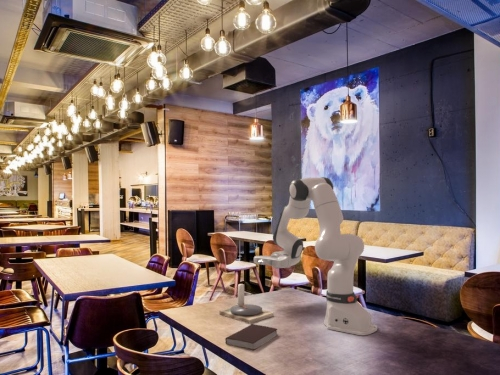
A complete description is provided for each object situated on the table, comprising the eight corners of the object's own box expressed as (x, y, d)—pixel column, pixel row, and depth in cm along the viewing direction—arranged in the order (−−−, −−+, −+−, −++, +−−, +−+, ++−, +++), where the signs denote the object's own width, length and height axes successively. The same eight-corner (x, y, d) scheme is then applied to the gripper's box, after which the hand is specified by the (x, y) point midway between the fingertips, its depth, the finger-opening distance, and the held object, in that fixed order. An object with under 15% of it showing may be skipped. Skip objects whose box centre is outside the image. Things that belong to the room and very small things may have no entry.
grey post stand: (267, 312, 178) (267, 288, 178) (238, 317, 172) (238, 292, 172) (251, 304, 193) (251, 281, 194) (224, 307, 187) (224, 284, 187)
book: (224, 345, 145) (224, 336, 145) (251, 330, 161) (251, 322, 161) (253, 352, 138) (253, 343, 138) (278, 336, 155) (278, 327, 155)
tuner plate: (273, 315, 180) (273, 312, 180) (249, 323, 169) (249, 319, 169) (243, 307, 194) (243, 304, 194) (219, 314, 183) (219, 310, 183)
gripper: (263, 252, 215) (246, 254, 205) (292, 255, 201) (275, 258, 191) (263, 263, 215) (246, 266, 205) (292, 268, 200) (275, 271, 191)
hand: (260, 262), depth 198 cm, fingers closed
